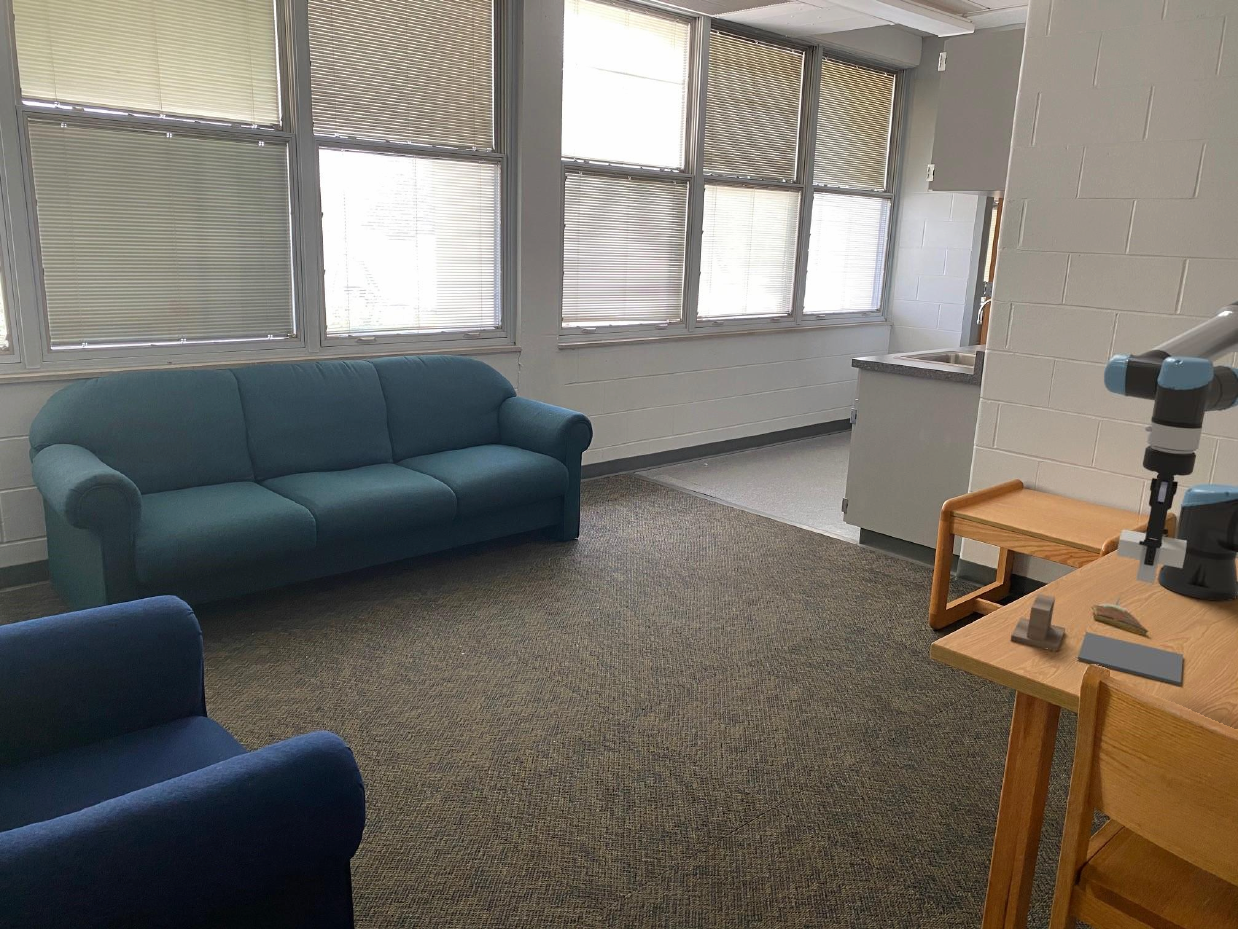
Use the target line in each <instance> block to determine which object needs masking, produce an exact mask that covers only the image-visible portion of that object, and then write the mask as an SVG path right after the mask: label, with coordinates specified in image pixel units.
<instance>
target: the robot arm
mask: <svg viewBox="0 0 1238 929" xmlns="http://www.w3.org/2000/svg"><path fill="white" fill-rule="evenodd" d="M1231 353H1238V300H1237V301H1234V302H1232V303H1230V304H1227V305H1225V306H1223V307H1222V308H1220V309H1218V310H1216V312H1214V313H1213V314H1212V316H1211V318H1210V319H1209V320H1207V321H1205V322H1203V323H1200V324H1199V325H1196V326H1195V327H1193V328H1190V329H1189V330H1188V331H1187V330H1186V331H1185V332H1183V333H1181V334H1179V335H1177V336H1175V337H1173V338H1172V339H1170V340H1167V341H1165V342H1163V343H1161V344H1158V345H1157V346H1155V347H1153V348H1151V349H1149V350H1147V351H1145V352H1144V353H1142V354H1139V355H1134V354H1132V353H1127V354H1126V353H1125V354H1124V353H1118V354H1115V355H1113V357H1111V358H1110V359H1109V361H1108V362H1107V363H1106V366H1105V369H1104V373H1103V383H1104V386H1105V388H1106V389H1107V390H1108V392H1110V393H1114V394H1117V395H1122V396H1124V397H1131V398H1137V399H1144V400H1148V401H1154V404H1153V410H1152V415H1151V418H1150V419H1151V422H1150V425H1146V426H1145V428H1144V429H1145V431H1146V432H1149V433H1148V434H1147V435H1148V436H1147V444H1148V446H1147V447H1145V450H1144V455H1143V456H1144V457H1143V461H1142V467H1143V468H1144V469H1145V470H1148V471H1150V472H1156V473H1157V474H1156V477H1152V478H1151V481H1150V487H1149V491H1150V495H1149V501H1148V506H1150V512H1149V517H1148V521H1147V527H1146V532H1145V533H1146V537H1145V540H1144V542H1143V541H1139V545H1143V547H1142V553H1141V558H1140V560H1139V564H1138V569H1137V574H1136V578H1135V581H1138V582H1143V583H1148V584H1152V585H1153V584H1155V580H1156V575H1157V569H1158V565H1159V564H1158V561H1159V556H1160V551H1161V546H1162V542H1161V541H1162V536H1163V537H1164V535H1166V536H1168V533H1169V529H1167V528H1165V526H1166V520H1167V515H1168V511H1169V510H1171V509H1172V506H1173V502H1174V496H1175V495H1176V493H1177V491H1178V484H1179V481H1176V480H1175V476H1182V477H1183V476H1189V475H1191V474H1192V473H1194V468H1195V463H1196V458H1197V454H1196V453H1195V451H1197V450H1198V449H1199V445H1200V440H1201V436H1202V430H1203V423H1204V418H1205V414H1206V412H1214V411H1216V412H1217V411H1218V412H1220V411H1223V410H1224V411H1226V410H1229V409H1230V408H1235V407H1237V406H1238V368H1236V367H1234V366H1229V365H1228V366H1225V365H1217V366H1214V364H1213V363H1214V362H1216V361H1218V360H1220V359H1222V358H1224V357H1225V356H1228V355H1229V354H1231ZM1178 518H1179V519H1178V522H1177V528H1176V534H1175V538H1174V539H1179V540H1185V541H1187V544H1186V553H1185V558H1184V563H1183V567H1182V568H1178V567H1173V566H1168V565H1162V567H1160V569H1159V571H1158V576H1157V582H1158V583H1159V584H1160V585H1161V586H1163V587H1164V588H1166V589H1168V590H1170V591H1172V592H1174V593H1178V594H1182V595H1184V596H1188V597H1192V598H1195V599H1201V600H1207V601H1218V600H1225V601H1230V600H1229V599H1232V600H1235V599H1236V598H1235V597H1237V598H1238V572H1237V563H1236V560H1237V559H1236V558H1237V554H1238V486H1237V485H1229V484H1214V483H1213V484H1211V483H1209V484H1195V485H1192V486H1190V487H1188V488H1187V489H1186V490H1185V492H1184V495H1183V499H1182V503H1181V504H1180V511H1179V517H1178ZM1149 538H1151V539H1149ZM1155 539H1156V540H1155ZM1234 598H1235V599H1234Z"/></svg>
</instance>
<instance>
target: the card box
mask: <svg viewBox="0 0 1238 929" xmlns="http://www.w3.org/2000/svg"><path fill="white" fill-rule="evenodd" d="M1145 537H1146V532H1139V531H1135V530H1127V529H1122V530H1121V533H1120V537H1119V538H1118V539H1119V540H1118V545H1117V551H1116V556H1117V557H1121V558H1128V559H1133V560H1137V561H1138V560H1139V561H1140V558H1141V553H1142V547H1143V545H1139V541H1143V542H1144V540H1145ZM1149 539H1151V538H1149ZM1155 540H1156V539H1155ZM1161 542H1162V546H1161V551H1160V556H1159V561H1158V565H1162V566H1164V565H1168V566H1173V567H1178V568H1182V567H1183V563H1184V558H1185V553H1186V544H1187V541H1185V540H1179V539H1175V538H1173V537H1168V536H1164V535H1163V536H1162V541H1161Z"/></svg>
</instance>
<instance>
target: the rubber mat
mask: <svg viewBox="0 0 1238 929" xmlns="http://www.w3.org/2000/svg"><path fill="white" fill-rule="evenodd" d="M1077 659H1079V660H1082V661H1081V662H1083V661H1086V662H1085V663H1087V662H1089V663H1088V664H1091V663H1093V664H1092V665H1095V664H1099V665H1100V667H1103V666H1104V668H1107V667H1108V668H1107V669H1112V670H1115V671H1116V670H1117V671H1119V672H1124V673H1128V674H1132V675H1136V676H1140V677H1144V678H1149V679H1153V680H1157V681H1160V682H1165V683H1167V684H1173V685H1175V686H1181V684H1182V673H1183V660H1184V654H1181V653H1177V652H1174V651H1169V650H1164V649H1161V648H1157V647H1152V646H1149V645H1143V644H1139V643H1134V642H1130V641H1125V640H1123V639H1122V640H1121V639H1117V638H1114V637H1110V636H1109V637H1108V636H1105V635H1101V634H1096V633H1092V632H1088V631H1086V632H1085V635H1084V637H1083V640H1082V644H1081V647H1080V650H1079V653H1078V657H1077ZM1079 660H1078V661H1079ZM1099 665H1098V666H1099Z"/></svg>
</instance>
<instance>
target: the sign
mask: <svg viewBox="0 0 1238 929" xmlns="http://www.w3.org/2000/svg"><path fill="white" fill-rule="evenodd" d="M1122 595H1123V594H1120V596H1119V597H1118V598H1117V600H1116V602H1115V604H1113V603H1101V604H1099V605H1098V606H1110V607H1116V608H1119V609H1122V610H1126V611H1127V612H1128V609H1127V608H1125V607H1123V606H1120V605H1118V603H1119V602H1120V600H1121V598H1122ZM1128 613H1129V612H1128Z"/></svg>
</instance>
